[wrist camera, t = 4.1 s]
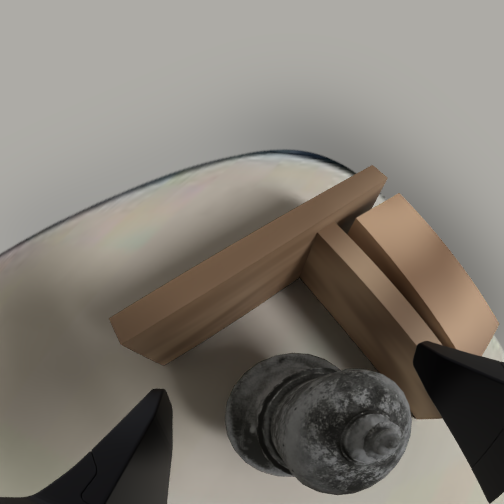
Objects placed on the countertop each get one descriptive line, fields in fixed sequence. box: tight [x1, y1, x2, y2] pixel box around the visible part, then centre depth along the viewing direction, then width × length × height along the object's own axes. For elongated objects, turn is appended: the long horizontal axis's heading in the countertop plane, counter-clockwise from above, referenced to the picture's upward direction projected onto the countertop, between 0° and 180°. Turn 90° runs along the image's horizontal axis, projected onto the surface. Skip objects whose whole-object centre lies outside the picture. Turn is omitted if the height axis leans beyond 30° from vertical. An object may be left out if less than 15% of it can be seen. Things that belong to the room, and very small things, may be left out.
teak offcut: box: [347, 193, 499, 356], centre depth 12 cm, size 10×4×2 cm, turn 32°
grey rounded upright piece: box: [225, 353, 412, 495], centre depth 8 cm, size 6×6×12 cm
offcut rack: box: [109, 166, 442, 419], centre depth 12 cm, size 14×16×6 cm
